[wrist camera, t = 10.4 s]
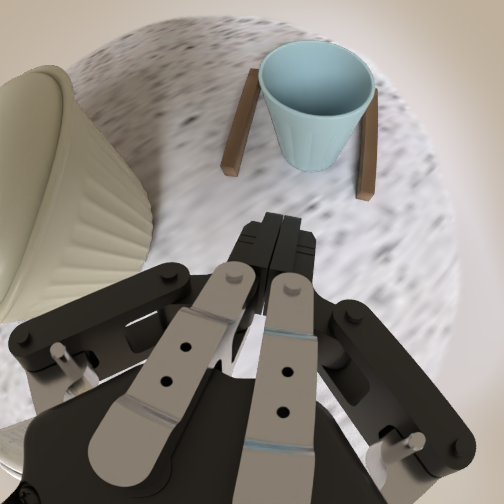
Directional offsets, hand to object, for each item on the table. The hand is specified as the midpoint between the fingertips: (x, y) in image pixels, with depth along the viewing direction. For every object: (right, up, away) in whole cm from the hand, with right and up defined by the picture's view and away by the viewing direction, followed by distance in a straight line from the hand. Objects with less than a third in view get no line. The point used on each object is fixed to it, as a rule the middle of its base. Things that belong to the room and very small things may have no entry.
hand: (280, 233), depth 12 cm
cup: (+4, +9, +14) cm, 17 cm away
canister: (-16, +1, +15) cm, 22 cm away
